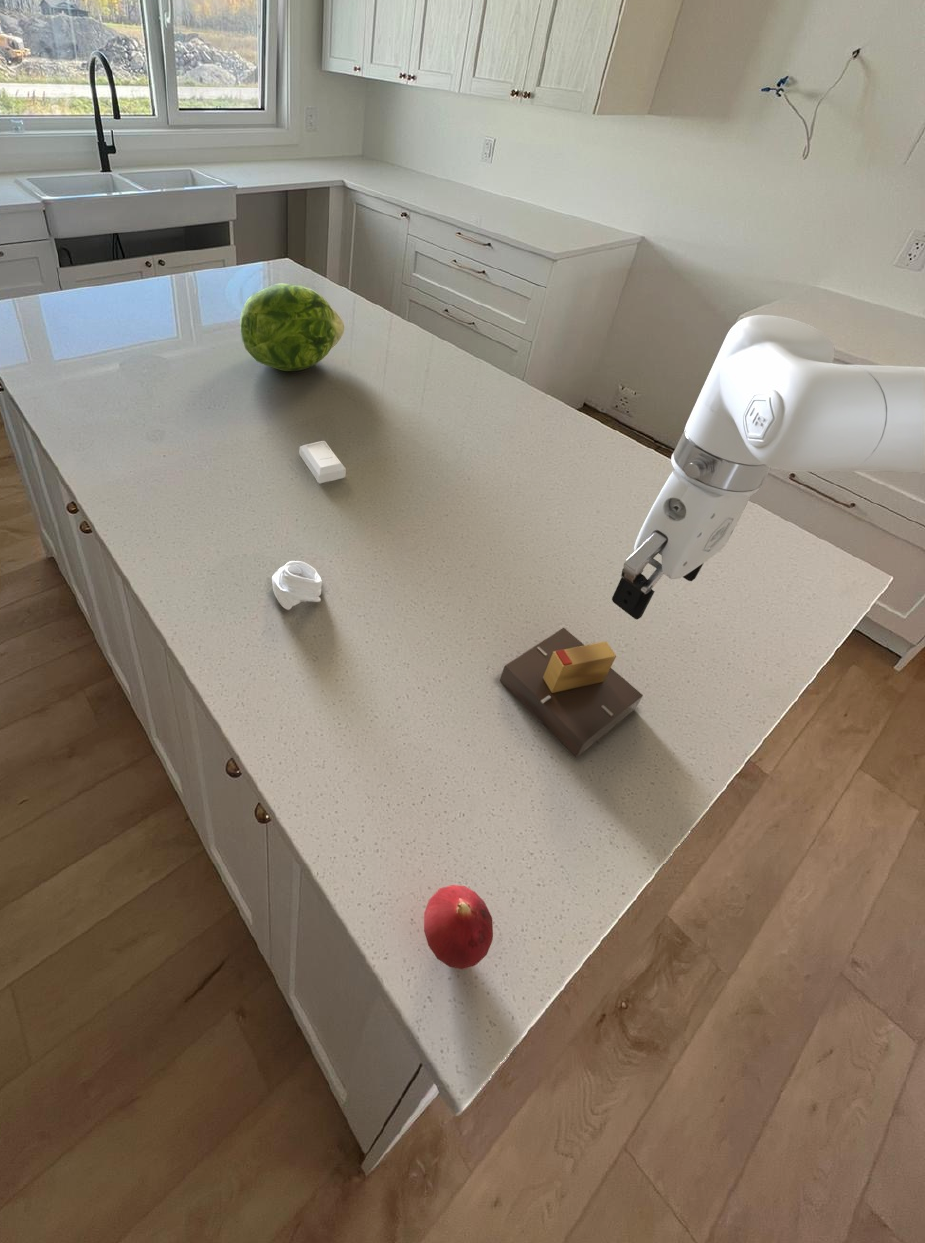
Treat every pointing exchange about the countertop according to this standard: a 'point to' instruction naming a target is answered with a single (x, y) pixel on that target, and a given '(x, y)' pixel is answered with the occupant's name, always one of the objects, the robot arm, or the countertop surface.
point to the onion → (458, 926)
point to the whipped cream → (296, 584)
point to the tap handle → (579, 666)
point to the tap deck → (569, 696)
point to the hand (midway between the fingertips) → (653, 590)
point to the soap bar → (322, 462)
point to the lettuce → (289, 327)
